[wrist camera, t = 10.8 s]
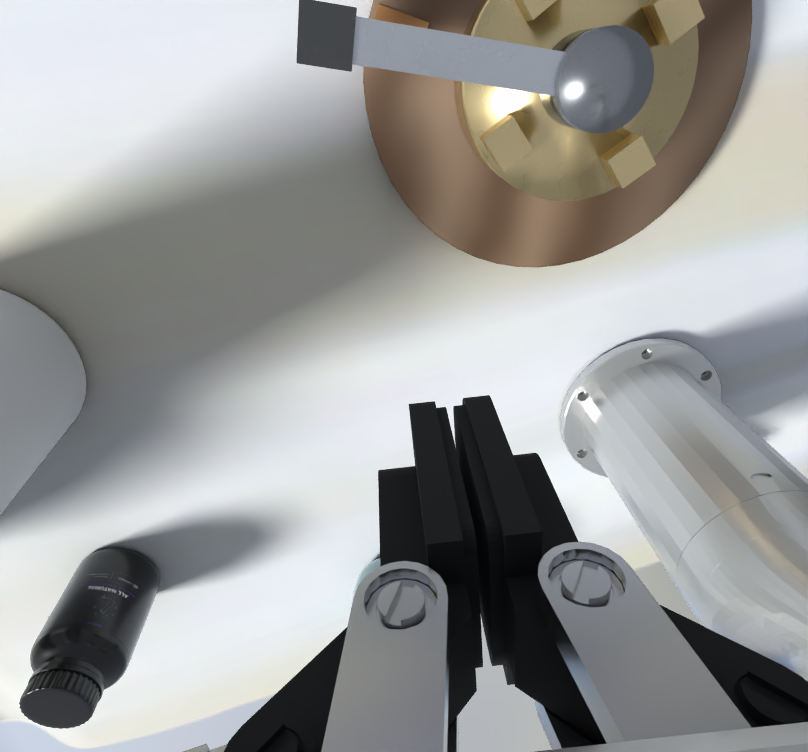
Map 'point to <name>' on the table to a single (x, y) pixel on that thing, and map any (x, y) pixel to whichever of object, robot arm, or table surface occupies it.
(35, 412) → the cylinder vase
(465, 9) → the lever base
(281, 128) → the table surface
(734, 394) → the table surface
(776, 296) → the table surface
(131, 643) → the supplement bottle
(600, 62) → the grey lever
